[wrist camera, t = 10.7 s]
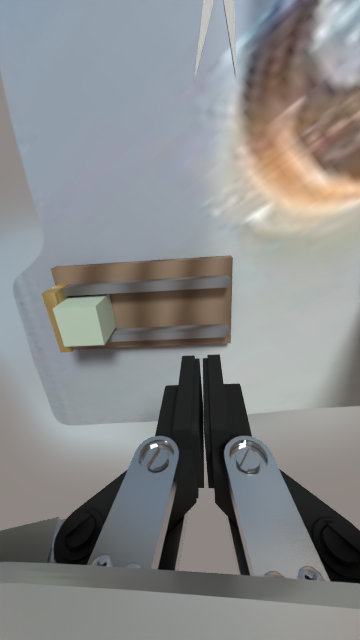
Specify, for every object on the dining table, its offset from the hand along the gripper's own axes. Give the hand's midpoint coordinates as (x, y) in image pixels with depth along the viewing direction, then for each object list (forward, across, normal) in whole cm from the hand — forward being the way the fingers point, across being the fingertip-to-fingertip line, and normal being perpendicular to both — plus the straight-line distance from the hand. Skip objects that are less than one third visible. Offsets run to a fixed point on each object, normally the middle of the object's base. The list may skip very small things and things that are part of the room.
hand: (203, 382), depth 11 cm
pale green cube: (+20, +15, +4) cm, 25 cm away
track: (+22, +8, +4) cm, 24 cm away
